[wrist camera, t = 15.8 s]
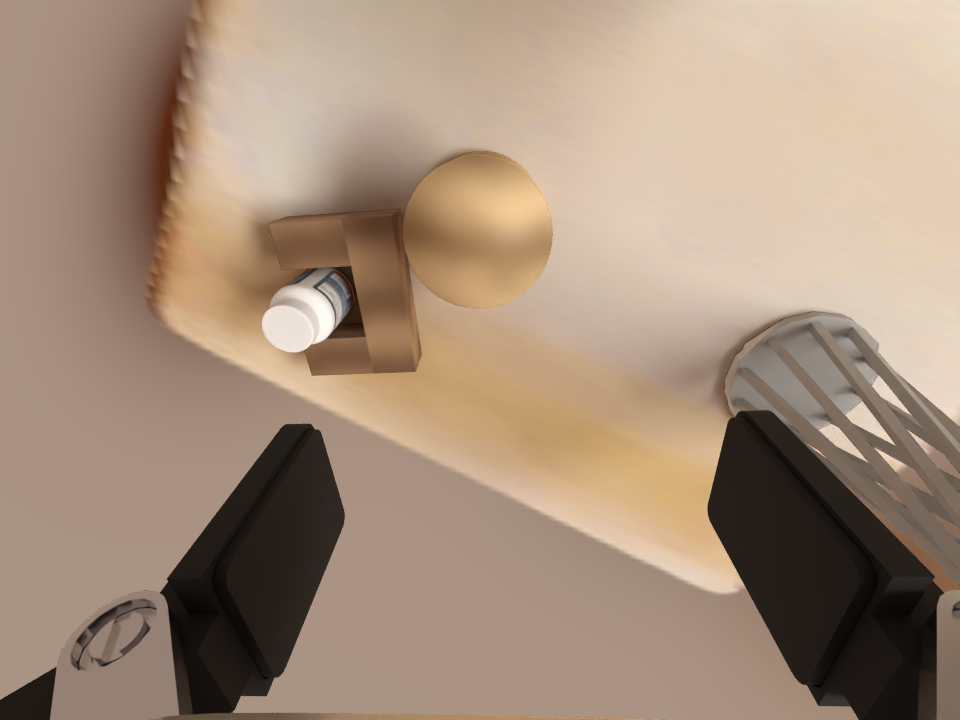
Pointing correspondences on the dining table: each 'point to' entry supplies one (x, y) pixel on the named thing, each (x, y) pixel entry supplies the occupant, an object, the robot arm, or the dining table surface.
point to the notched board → (358, 288)
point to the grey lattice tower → (828, 398)
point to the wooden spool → (478, 230)
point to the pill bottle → (307, 309)
